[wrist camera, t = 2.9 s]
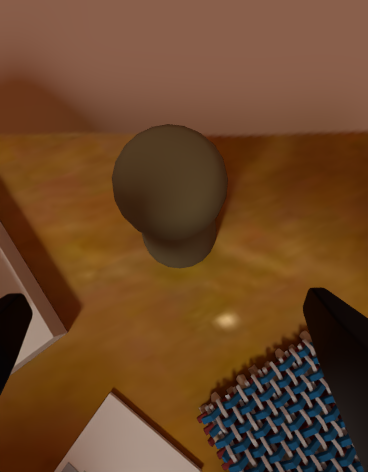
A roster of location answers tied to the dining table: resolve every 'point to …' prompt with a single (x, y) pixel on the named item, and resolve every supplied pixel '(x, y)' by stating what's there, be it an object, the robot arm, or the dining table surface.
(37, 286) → the tower base
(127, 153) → the brown tapered knobbed post
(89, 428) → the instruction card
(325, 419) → the woven mat
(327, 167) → the dining table surface
